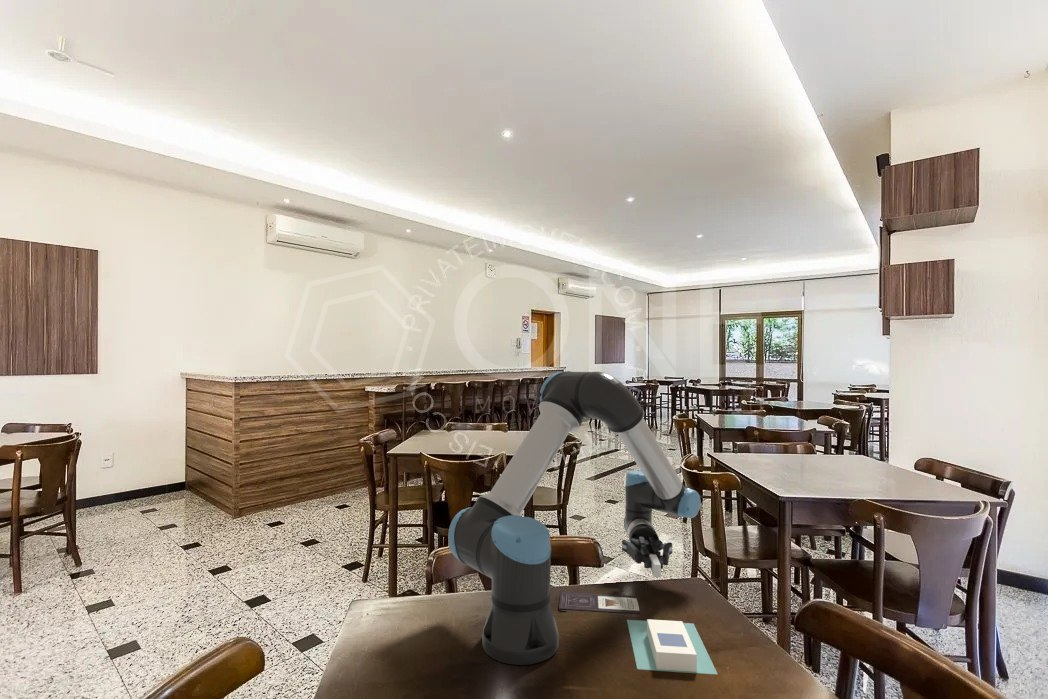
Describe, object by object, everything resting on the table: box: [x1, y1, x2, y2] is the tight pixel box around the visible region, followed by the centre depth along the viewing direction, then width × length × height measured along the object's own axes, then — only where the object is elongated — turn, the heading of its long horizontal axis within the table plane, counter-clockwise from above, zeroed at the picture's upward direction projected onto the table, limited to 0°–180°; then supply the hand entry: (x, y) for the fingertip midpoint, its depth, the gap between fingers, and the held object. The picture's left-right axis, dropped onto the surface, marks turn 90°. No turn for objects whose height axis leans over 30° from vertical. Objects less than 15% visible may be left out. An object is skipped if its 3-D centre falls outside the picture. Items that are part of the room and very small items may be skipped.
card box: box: [646, 618, 697, 672], centre depth 94 cm, size 7×3×12 cm
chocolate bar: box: [558, 591, 641, 615], centre depth 115 cm, size 9×1×18 cm
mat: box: [626, 619, 719, 676], centre depth 97 cm, size 14×18×1 cm
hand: (657, 570), depth 110 cm, fingers closed
